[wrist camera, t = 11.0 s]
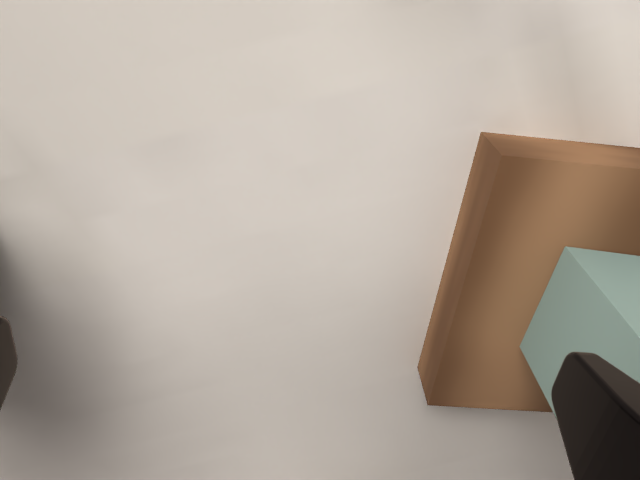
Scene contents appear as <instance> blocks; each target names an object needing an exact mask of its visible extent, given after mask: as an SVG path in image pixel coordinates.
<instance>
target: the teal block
mask: <svg viewBox="0 0 640 480" xmlns="http://www.w3.org/2000/svg"><path fill="white" fill-rule="evenodd" d="M519 347H520V349H521V351H522V352H523V354H524V356H525V358H526V360H527V362H528V364H529V366H530V368H531V370H532V372H533V374H534V376H535V378H536V380H537V382H538V384H539V386H540V387H541V389H542V391H543V393H544V395H545V397H546V399H547V401H548V403H549V405H550V407H551V409H552V411H553V413H554V415H555V417H556V414H555V411H554V407H553V404H552V398H551V391H552V386H553V384H554V381H555V379H556V377H557V375H558V372H559V370H560V368H561V365H562V363H563V361H564V359H565V357H566V355H567V354H569V353H570V352H588V353H594V354H597V355H598V356H600V357H601V358H603V359H604V360H606V361H607V362H609V363H610V364H612V365H613V366H615V367H616V368H618V369H619V370H621V371H622V372H624V373H625V374H627V375H628V376H630V377H631V378H633V379H634V380H636V381H637V382H639V383H640V256H635V255H628V254H620V253H613V252H605V251H597V250H590V249H582V248H574V247H567V246H565V247H564V250H563V252H562V254H561V256H560V258H559V261H558V263H557V265H556V267H555V269H554V272H553V274H552V276H551V278H550V280H549V283H548V285H547V287H546V289H545V291H544V294H543V296H542V298H541V300H540V302H539V305H538V307H537V309H536V311H535V313H534V316H533V318H532V320H531V322H530V324H529V327H528V329H527V331H526V333H525V335H524V338H523V340H522V342H521V344H520V346H519ZM556 419H557V418H556Z"/></svg>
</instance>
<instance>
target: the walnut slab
mask: <svg viewBox="0 0 640 480" xmlns="http://www.w3.org/2000/svg"><path fill="white" fill-rule="evenodd" d="M565 246H567V247H574V248H582V249H590V250H597V251H605V252H613V253H620V254H628V255H635V256H640V148H634V147H624V146H614V145H604V144H594V143H585V142H575V141H565V140H555V139H545V138H535V137H526V136H516V135H506V134H496V133H486V132H481V134H480V137H479V141H478V145H477V149H476V152H475V156H474V160H473V163H472V167H471V171H470V175H469V178H468V182H467V186H466V189H465V193H464V197H463V201H462V204H461V208H460V212H459V215H458V219H457V223H456V226H455V230H454V234H453V238H452V241H451V245H450V249H449V252H448V256H447V260H446V264H445V267H444V271H443V275H442V278H441V282H440V286H439V290H438V293H437V297H436V301H435V304H434V308H433V312H432V316H431V319H430V323H429V327H428V330H427V334H426V338H425V341H424V345H423V349H422V353H421V356H420V360H419V364H418V371H419V375H420V378H421V382H422V386H423V389H424V393H425V397H426V400H427V404H428V405H435V406H453V407H470V408H488V409H506V410H523V411H541V412H553V411H552V409H551V407H550V405H549V403H548V401H547V399H546V397H545V395H544V393H543V391H542V389H541V387H540V386H539V384H538V382H537V380H536V378H535V376H534V374H533V372H532V370H531V368H530V366H529V364H528V362H527V360H526V358H525V356H524V354H523V352H522V351H521V349H520V347H519V346H520V344H521V342H522V340H523V338H524V335H525V333H526V331H527V329H528V327H529V324H530V322H531V320H532V318H533V316H534V313H535V311H536V309H537V307H538V305H539V302H540V300H541V298H542V296H543V294H544V291H545V289H546V287H547V285H548V283H549V280H550V278H551V276H552V274H553V272H554V269H555V267H556V265H557V263H558V261H559V258H560V256H561V254H562V252H563V250H564V247H565Z"/></svg>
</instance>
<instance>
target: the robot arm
mask: <svg viewBox="0 0 640 480" xmlns="http://www.w3.org/2000/svg"><path fill="white" fill-rule="evenodd" d="M16 368H17V353H16V348H15V344H14V339H13V335H12V330H11V326H10V323H9V321H8V320H7V319H6V318H5V317H2V316H0V410H1V407H2V405H3V402H4V400H5V397H6V395H7V392H8V390H9V387H10V385H11V382H12V380H13V377H14V375H15V372H16ZM551 398H552V404H553V407H554V411H555V414H556V418H557V421H558V424H559V428H560V431H561V435H562V438H563V442H564V445H565V449H566V452H567V456H568V459H569V463H570V466H571V470H572V473H573V476H574V479H575V480H640V383H639V382H637V381H636V380H634V379H633V378H631V377H630V376H628V375H627V374H625V373H624V372H622V371H621V370H619V369H618V368H616V367H615V366H613V365H612V364H610V363H609V362H607V361H606V360H604V359H603V358H601V357H600V356H598V355H597V354H594V353H588V352H570V353H569V354H567V355H566V357H565V359H564V361H563V363H562V365H561V368H560V370H559V372H558V375H557V377H556V379H555V381H554V384H553V386H552V391H551Z"/></svg>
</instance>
